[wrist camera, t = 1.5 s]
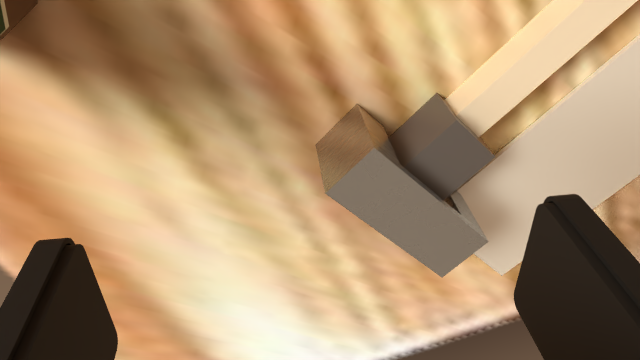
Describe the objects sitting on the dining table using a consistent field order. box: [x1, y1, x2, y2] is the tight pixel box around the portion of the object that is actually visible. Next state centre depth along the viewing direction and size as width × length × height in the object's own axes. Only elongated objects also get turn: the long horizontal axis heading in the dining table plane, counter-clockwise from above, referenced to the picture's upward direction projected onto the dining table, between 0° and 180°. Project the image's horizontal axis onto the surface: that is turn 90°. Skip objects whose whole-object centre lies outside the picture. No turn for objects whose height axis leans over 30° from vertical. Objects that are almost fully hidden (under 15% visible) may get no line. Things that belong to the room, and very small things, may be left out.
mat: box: [456, 34, 640, 276], centre depth 38 cm, size 20×10×1 cm, turn 137°
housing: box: [316, 104, 489, 277], centre depth 34 cm, size 4×11×6 cm, turn 47°
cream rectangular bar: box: [389, 0, 638, 200], centre depth 31 cm, size 20×4×4 cm, turn 137°
